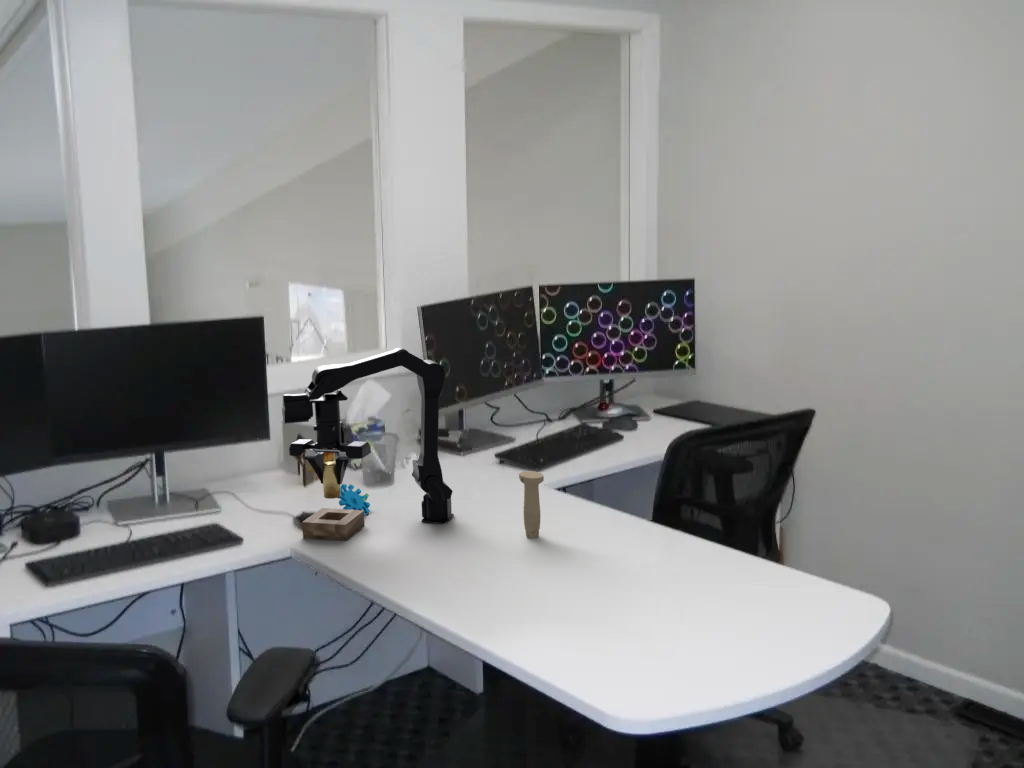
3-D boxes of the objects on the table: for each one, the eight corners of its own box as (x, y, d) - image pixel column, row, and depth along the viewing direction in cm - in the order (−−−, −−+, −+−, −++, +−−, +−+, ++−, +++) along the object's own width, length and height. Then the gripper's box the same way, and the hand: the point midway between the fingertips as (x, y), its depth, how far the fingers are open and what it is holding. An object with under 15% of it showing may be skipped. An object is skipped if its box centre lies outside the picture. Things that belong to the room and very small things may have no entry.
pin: (343, 494, 240) (341, 461, 238) (336, 499, 236) (334, 466, 235) (328, 493, 241) (326, 461, 240) (321, 498, 237) (319, 465, 236)
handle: (531, 542, 230) (530, 479, 227) (516, 534, 235) (514, 473, 233) (548, 538, 233) (547, 475, 230) (533, 530, 238) (532, 470, 235)
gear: (352, 516, 247) (332, 484, 250) (339, 530, 249) (318, 498, 252) (381, 510, 256) (360, 479, 259) (367, 524, 258) (347, 493, 262)
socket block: (364, 526, 244) (363, 510, 243) (346, 541, 234) (345, 524, 233) (323, 523, 247) (322, 508, 246) (303, 538, 236) (302, 522, 236)
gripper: (378, 413, 241) (381, 476, 243) (306, 411, 245) (310, 472, 248) (359, 424, 230) (363, 489, 233) (285, 421, 235) (290, 485, 238)
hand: (331, 483), depth 238 cm, fingers closed on pin, 4 cm apart
